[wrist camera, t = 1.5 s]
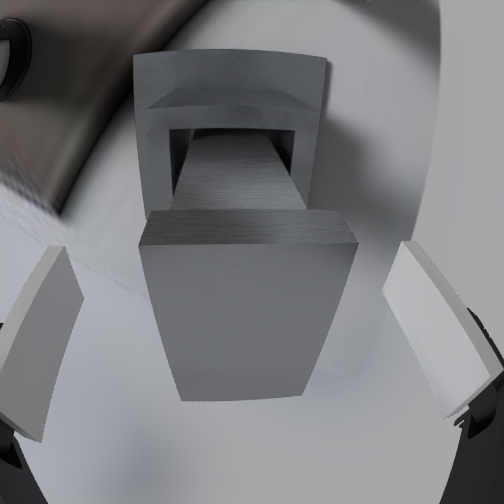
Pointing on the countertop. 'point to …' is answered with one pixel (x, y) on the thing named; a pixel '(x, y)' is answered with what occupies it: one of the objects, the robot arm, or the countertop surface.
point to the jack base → (223, 109)
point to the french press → (15, 54)
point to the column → (242, 271)
